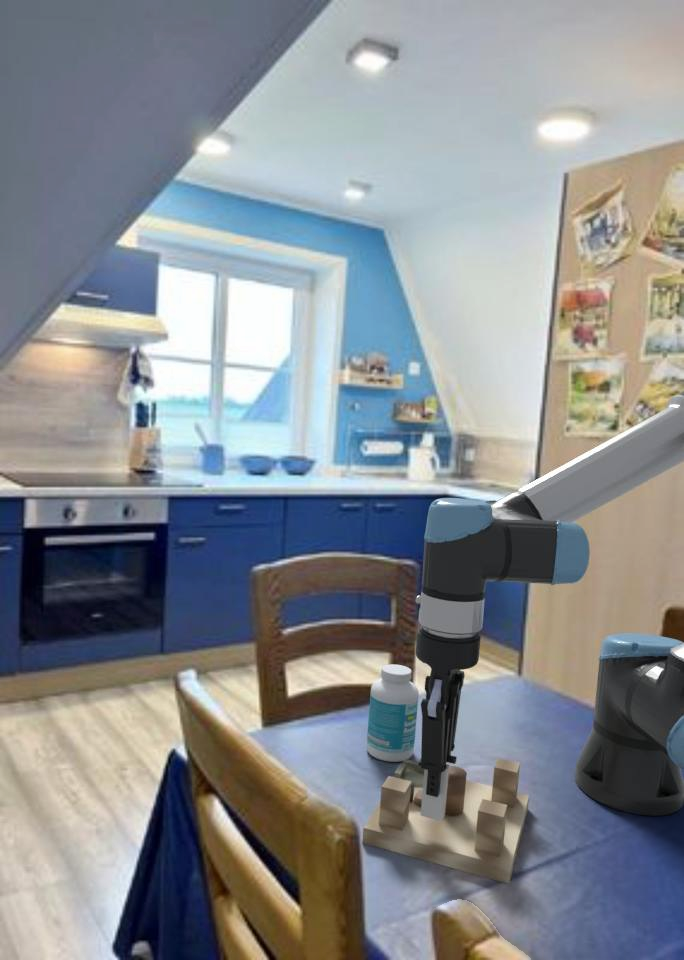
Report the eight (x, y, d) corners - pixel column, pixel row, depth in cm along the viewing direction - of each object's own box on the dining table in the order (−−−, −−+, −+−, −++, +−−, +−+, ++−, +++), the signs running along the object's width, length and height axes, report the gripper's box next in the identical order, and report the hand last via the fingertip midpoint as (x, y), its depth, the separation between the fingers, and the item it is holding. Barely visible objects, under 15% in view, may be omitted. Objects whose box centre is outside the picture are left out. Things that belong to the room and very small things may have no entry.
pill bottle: (410, 767, 115) (417, 681, 113) (362, 759, 116) (368, 674, 115) (415, 746, 122) (422, 664, 120) (370, 738, 123) (376, 658, 122)
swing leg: (412, 805, 99) (415, 768, 99) (419, 794, 102) (422, 758, 102) (460, 817, 97) (463, 780, 97) (465, 805, 100) (468, 769, 100)
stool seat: (527, 809, 105) (532, 760, 104) (509, 883, 88) (514, 826, 87) (402, 778, 111) (405, 732, 110) (362, 842, 94) (366, 789, 93)
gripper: (431, 610, 98) (416, 784, 101) (404, 637, 86) (387, 834, 88) (489, 620, 96) (473, 798, 98) (470, 649, 83) (451, 852, 86)
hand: (432, 815), depth 93 cm, fingers closed
